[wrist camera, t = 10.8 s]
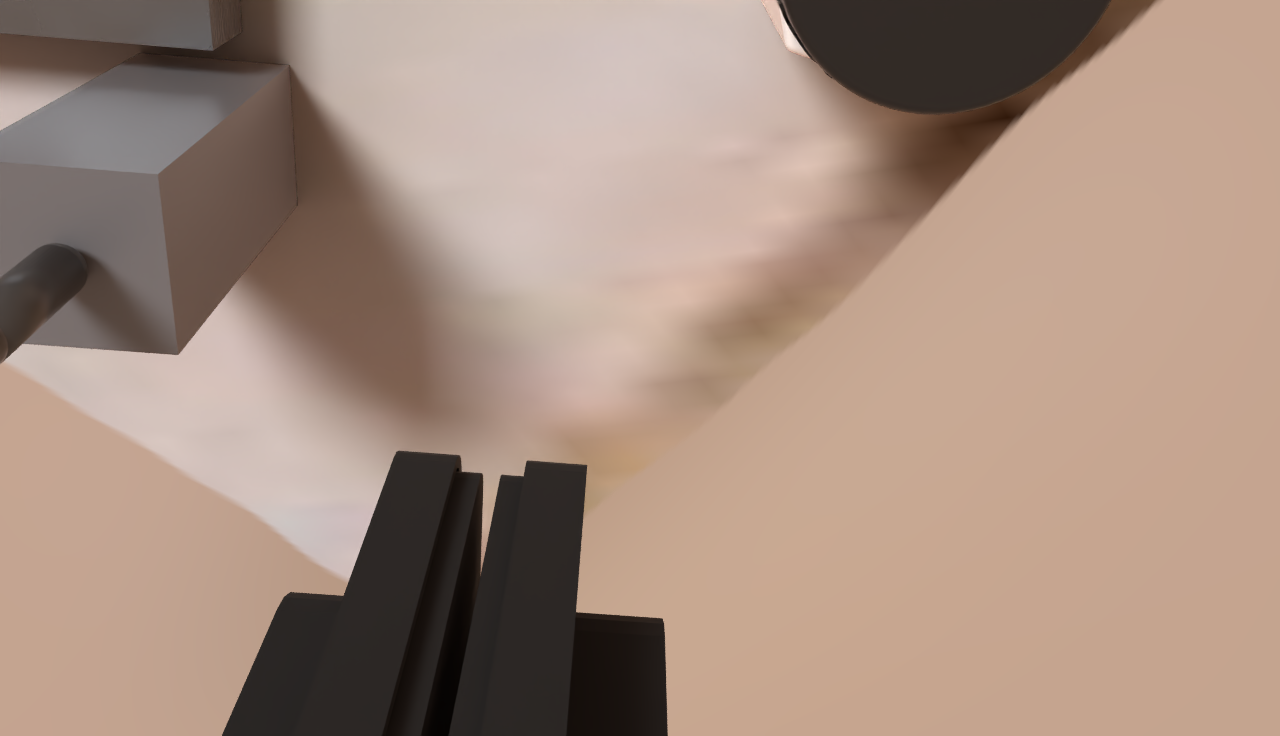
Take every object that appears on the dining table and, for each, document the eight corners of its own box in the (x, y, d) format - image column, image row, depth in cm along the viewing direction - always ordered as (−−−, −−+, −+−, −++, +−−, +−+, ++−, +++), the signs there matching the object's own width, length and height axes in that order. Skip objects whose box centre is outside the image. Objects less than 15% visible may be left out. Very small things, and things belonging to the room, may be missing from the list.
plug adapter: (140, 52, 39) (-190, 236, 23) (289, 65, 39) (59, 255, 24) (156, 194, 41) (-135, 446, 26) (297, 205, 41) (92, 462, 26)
